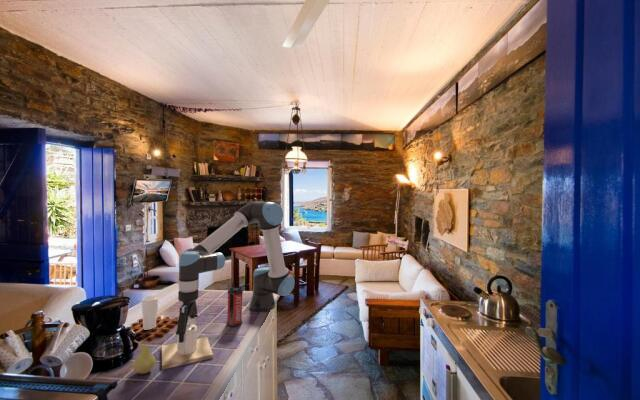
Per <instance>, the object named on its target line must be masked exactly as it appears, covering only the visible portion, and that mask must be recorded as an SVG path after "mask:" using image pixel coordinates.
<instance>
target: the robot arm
mask: <svg viewBox="0 0 640 400" xmlns="http://www.w3.org/2000/svg"><path fill="white" fill-rule="evenodd" d="M283 218H284V211H283V208H282V207H281V205H280V204H278V203H277V202H272V201H252V202H249V203H247V204H245V205H244V206H242V207H240V208H239V209H237V211H235V212H234V213H233V216H232V217H231V218H230V219H229V220H227V221H226V222H225V223H223V224H222V225H221V226H220V227H218V228H217V229H216V230H215V231H213V232H212V233H211V234H209V235H208V236H207V237H206V238H204V239H203V240H202V241H201V242H200V243H198V244H197V245H195V247H192V248H186V249H185V250H184V251H183V252H181V253H180V255H179V260H178V261H179V262H178V266H179V267H178V281H177V285H178V290H179V291H178V292H177V293H178V296H177V299H178V301H179V302H182V304H181V306H180V307H179V314H178V315H179V316H178V320H177V321H178V322H177V328H176V331H175V335H177V339H178V350H185V349H186V332H185V331H186V327H187V325H189V324H192V325H196V322H197V321H196V319H197V318H198V308H197V307H198V306H197V300H198V299H199V286H200V285H199V284H200V283H199V281H200V274H202V273H208V272H212V271H218V270H221V269H223V268H224V267H225V264H226V257H225V256H224V254H223V253H222V252H215V251H216V250H218V249H219V248H220V247H221V246H222V245H223V244H226V242H227V241H228V240H229V239H231V238H232V237H233V236H234V235H235V234H237V233H238V232H240V230H242V228H246V227H248V226H249V225H250V224H255V223H256V224H257V225H258V229H259V230H260V231H261V232H262V236H263V240H264V246H265V252H266V256H267V261H268V266H266V267H265V266H263V267H258V268H256V269H254V271H253V275H252V276H253V277H252V285H253V286H252V296H251V298H250V302H249V309H250V310H252V311H254V312H269V311H272V310H274V309H275V308H276V300H275V297H274V296H275V295H278V296H283V297H287V296H288V295H290V294H291V293H292V291H293V289H294V287H295V282H296V281H295V278H294V276H293V275H291V274H290V270H289V268H288V267H286V263H285V259H284V253H283V252H284V251H283V247H282V241H281V235H280V231H279V228H280V226H281V223H282V221H283Z"/></svg>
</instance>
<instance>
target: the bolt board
mask: <svg viewBox="0 0 640 400" xmlns="http://www.w3.org/2000/svg"><path fill="white" fill-rule="evenodd" d="M208 338H209V337H208V336H205V337H201V338H197V349H196V350H195V351H194V352H193V353H190V354H186V355H185V354H184V355H182V354H178V352H177V342H174V343H168V344H164V345H161V370H162V371H163V370H167V369H170V368H176V367H178V366H179V367H180V366H183V365H188V364H193V363H196V362H201V361H202V362H203V361H205V360H211V359H213V357H214V354H213V351H212V348H211V345H210V342H209V339H208Z"/></svg>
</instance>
